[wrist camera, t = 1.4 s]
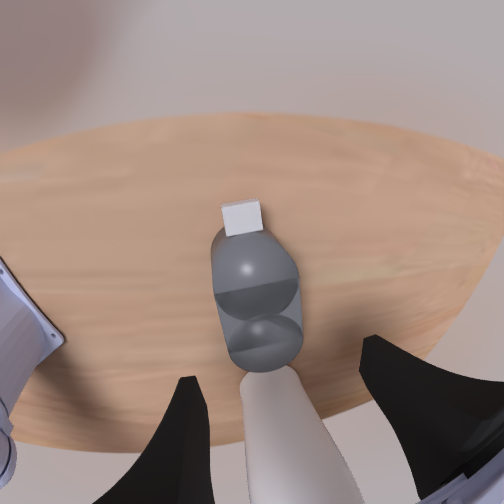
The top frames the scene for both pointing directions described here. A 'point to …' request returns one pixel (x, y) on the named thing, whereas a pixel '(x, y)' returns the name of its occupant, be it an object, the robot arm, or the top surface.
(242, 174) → the top surface
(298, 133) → the top surface
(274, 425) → the drinking glass
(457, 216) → the top surface
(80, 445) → the top surface
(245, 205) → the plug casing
